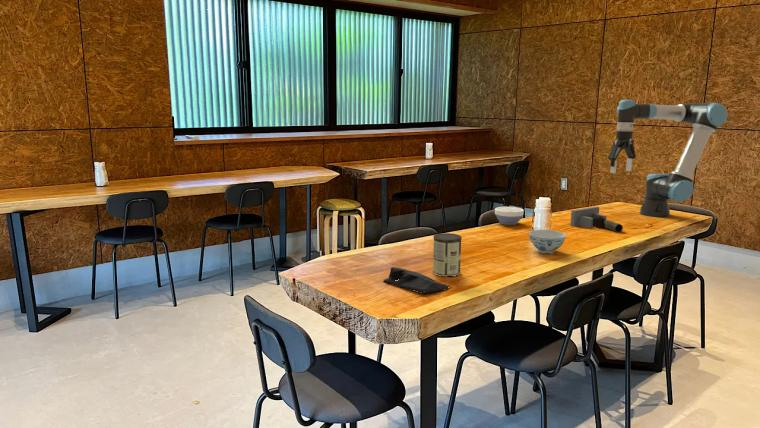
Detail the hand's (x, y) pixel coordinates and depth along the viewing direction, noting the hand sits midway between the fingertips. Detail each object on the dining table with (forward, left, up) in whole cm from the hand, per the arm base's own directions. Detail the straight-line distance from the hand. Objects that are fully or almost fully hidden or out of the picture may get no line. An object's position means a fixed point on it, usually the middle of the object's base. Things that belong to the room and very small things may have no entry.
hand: (620, 172), depth 286 cm
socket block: (+18, -3, -27) cm, 32 cm away
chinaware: (+77, +19, -27) cm, 84 cm away
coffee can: (+132, +19, -27) cm, 136 cm away
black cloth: (+149, +23, -27) cm, 153 cm away
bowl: (+51, -28, -27) cm, 64 cm away
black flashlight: (+18, +6, -27) cm, 33 cm away
